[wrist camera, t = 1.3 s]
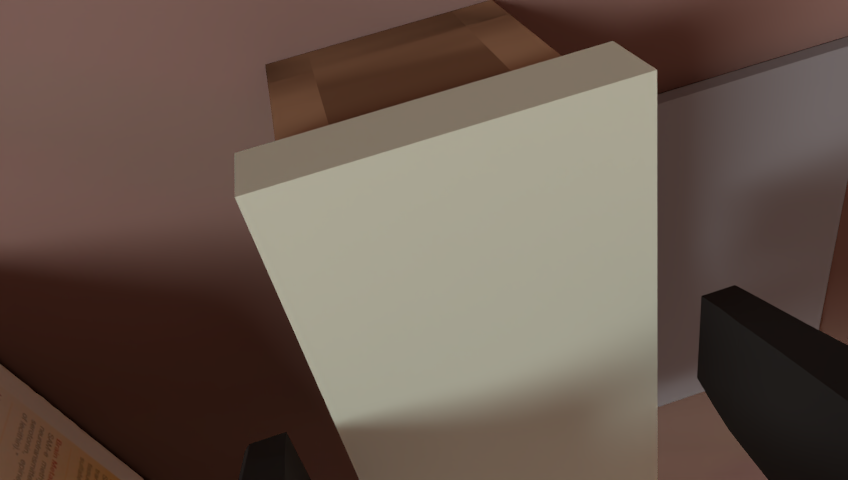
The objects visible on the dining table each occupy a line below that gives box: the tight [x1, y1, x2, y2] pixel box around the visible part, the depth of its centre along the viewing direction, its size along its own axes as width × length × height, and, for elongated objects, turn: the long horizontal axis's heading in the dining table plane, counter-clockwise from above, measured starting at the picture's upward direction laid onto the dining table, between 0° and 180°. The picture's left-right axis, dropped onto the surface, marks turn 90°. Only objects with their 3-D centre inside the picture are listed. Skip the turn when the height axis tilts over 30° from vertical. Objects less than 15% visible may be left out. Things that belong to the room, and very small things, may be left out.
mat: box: [657, 37, 848, 407], centre depth 18 cm, size 10×7×1 cm
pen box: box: [266, 0, 561, 141], centre depth 14 cm, size 10×4×4 cm, turn 12°
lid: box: [234, 41, 658, 480], centre depth 12 cm, size 11×5×1 cm, turn 12°
